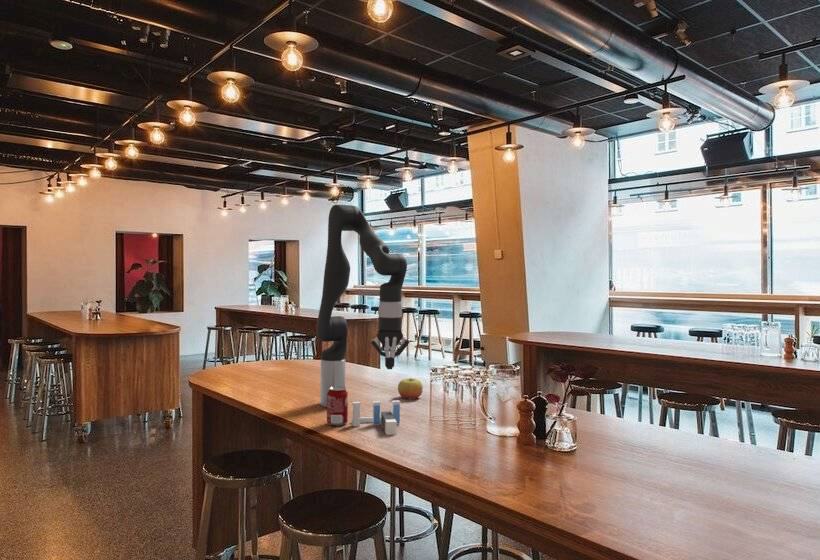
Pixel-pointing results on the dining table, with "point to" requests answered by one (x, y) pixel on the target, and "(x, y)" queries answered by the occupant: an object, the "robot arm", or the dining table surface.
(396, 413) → the upright peg stand
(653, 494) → the dining table surface
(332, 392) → the soda can
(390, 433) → the grey rectangular bar
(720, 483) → the dining table surface
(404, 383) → the apple
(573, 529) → the dining table surface
